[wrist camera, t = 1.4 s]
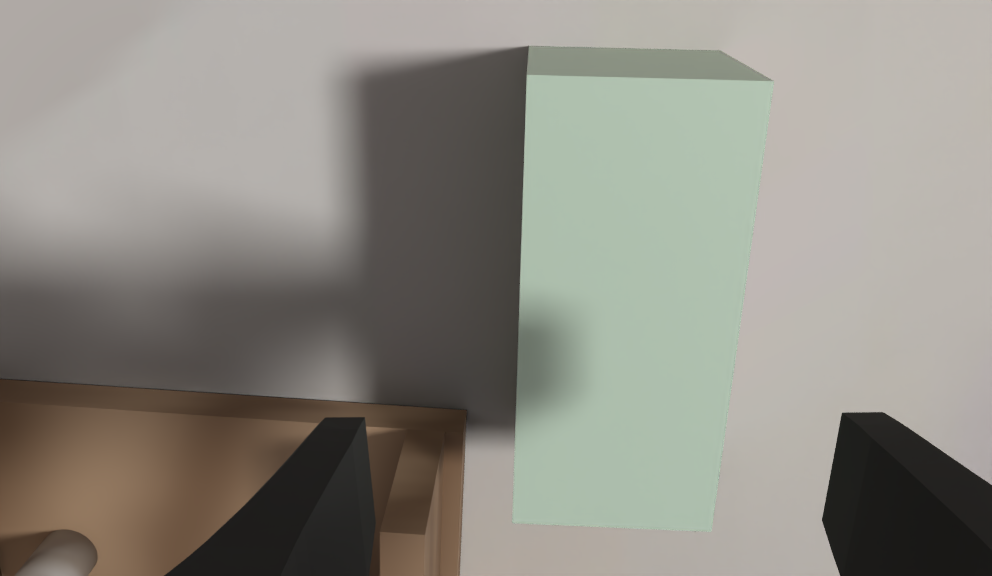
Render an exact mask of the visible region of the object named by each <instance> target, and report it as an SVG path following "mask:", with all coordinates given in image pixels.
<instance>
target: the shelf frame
mask: <svg viewBox="0 0 992 576" xmlns="http://www.w3.org/2000/svg"><path fill="white" fill-rule="evenodd" d="M466 414H467V410H456V409H441V408H426V407H411V406H396V405H381V404H366V403H351V402H336V401H321V400H306V399H291V398H276V397H261V396H246V395H231V394H216V393H201V392H186V391H171V390H156V389H141V388H126V387H111V386H96V385H81V384H66V383H51V382H36V381H21V380H6V379H0V576H164V575H165V574H167V573H168V572H169V571H171V570H172V569H173V568H174V567H176V566H177V565H178V564H180V563H181V562H182V561H183V560H185V559H186V558H187V557H188V556H189V555H191V554H192V553H193V552H194V551H195V550H197V549H198V548H199V547H200V546H201V545H202V544H203V543H205V542H206V541H207V540H208V539H209V538H210V537H211V536H212V535H213V534H214V533H215V532H216V531H218V530H219V529H220V528H221V527H222V526H223V525H224V524H225V523H226V522H227V521H228V520H229V519H230V518H231V517H232V516H233V515H234V514H235V513H237V512H238V511H239V510H240V509H241V508H242V507H243V506H244V505H245V504H246V503H247V502H248V501H249V500H250V499H251V498H252V497H253V496H254V495H255V493H256V492H257V491H258V490H259V489H260V488H261V487H262V486H263V485H264V484H265V483H266V482H267V481H268V480H269V479H270V478H271V477H272V476H273V474H274V473H275V472H276V471H277V470H278V469H279V468H280V467H281V466H282V465H283V464H284V462H285V461H286V460H287V459H288V458H289V457H290V456H291V455H292V454H293V452H294V451H295V450H296V449H297V448H298V447H299V446H300V444H301V443H302V442H303V441H304V440H305V439H306V438H307V436H308V435H309V434H310V433H311V432H312V431H313V430H314V429H315V427H316V426H317V425H318V424H319V423H320V422H321V421H322V420H323V419H324V418H325V417H365V422H366V432H367V441H368V451H369V461H370V471H371V481H372V490H373V500H374V510H375V520H376V526H375V534H374V542H373V550H372V557H371V565H370V572H369V576H460V554H461V531H462V507H463V484H464V461H465V438H466Z"/></svg>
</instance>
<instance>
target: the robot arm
mask: <svg viewBox="0 0 992 576" xmlns="http://www.w3.org/2000/svg"><path fill="white" fill-rule="evenodd" d="M822 521H823V524H824V528H825V531H826V534H827V537H828V540H829V544H830V547H831V550H832V553H833V556H834V559H835V562H836V565H837V567H838V570H839V573H840V576H992V485H991V484H989V483H988V482H986V481H985V480H983V479H982V478H980V477H979V476H977V475H976V474H974V473H973V472H971V471H970V470H969V469H967V468H966V467H964V466H963V465H961V464H960V463H958V462H957V461H955V460H954V459H953V458H951V457H950V456H948V455H947V454H945V453H944V452H942V451H941V450H940V449H938V448H937V447H935V446H934V445H932V444H931V443H929V442H928V441H927V440H925V439H924V438H922V437H921V436H919V435H918V434H916V433H915V432H913V431H912V430H910V429H909V428H907V427H906V426H904V425H903V424H901V423H900V422H898V421H897V420H895V419H893V418H892V417H890V416H888V415H887V414H885V413H883V412H869V413H842V416H841V421H840V427H839V432H838V437H837V443H836V448H835V453H834V459H833V464H832V470H831V475H830V480H829V486H828V491H827V496H826V502H825V507H824V512H823V518H822ZM375 526H376V520H375V510H374V500H373V490H372V481H371V471H370V461H369V451H368V441H367V432H366V422H365V417H325V418H324V419H323V420H322V421H321V422H320V423H319V424H318V425H317V426H316V427H315V429H314V430H313V431H312V432H311V433H310V434H309V435H308V436H307V438H306V439H305V440H304V441H303V442H302V443H301V444H300V446H299V447H298V448H297V449H296V450H295V451H294V452H293V454H292V455H291V456H290V457H289V458H288V459H287V460H286V461H285V462H284V464H283V465H282V466H281V467H280V468H279V469H278V470H277V471H276V472H275V473H274V474H273V476H272V477H271V478H270V479H269V480H268V481H267V482H266V483H265V484H264V485H263V486H262V487H261V488H260V489H259V490H258V491H257V492H256V493H255V495H254V496H253V497H252V498H251V499H250V500H249V501H248V502H247V503H246V504H245V505H244V506H243V507H242V508H241V509H240V510H239V511H238V512H237V513H235V514H234V515H233V516H232V517H231V518H230V519H229V520H228V521H227V522H226V523H225V524H224V525H223V526H222V527H221V528H220V529H219V530H218V531H216V532H215V533H214V534H213V535H212V536H211V537H210V538H209V539H208V540H207V541H206V542H205V543H203V544H202V545H201V546H200V547H199V548H198V549H197V550H195V551H194V552H193V553H192V554H191V555H189V556H188V557H187V558H186V559H185V560H183V561H182V562H181V563H180V564H178V565H177V566H176V567H174V568H173V569H172V570H171V571H169V572H168V573H167V574H165V575H164V576H369V572H370V565H371V557H372V550H373V542H374V534H375Z"/></svg>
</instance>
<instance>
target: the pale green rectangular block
mask: <svg viewBox="0 0 992 576" xmlns="http://www.w3.org/2000/svg"><path fill="white" fill-rule="evenodd" d="M773 85H774V81H773V80H771V79H769V78H767V77H766V76H764V75H762V74H760V73H759V72H757V71H755V70H753V69H752V68H750V67H748V66H746V65H745V64H743V63H741V62H739V61H738V60H736V59H734V58H732V57H731V56H729V55H727V54H725V53H724V52H722V51H711V50H671V49H631V48H591V47H550V46H529V50H528V64H527V82H526V113H525V145H524V176H523V207H522V238H521V269H520V300H519V331H518V362H517V393H516V424H515V455H514V486H513V517H512V523H520V524H543V525H566V526H589V527H612V528H635V529H658V530H681V531H704V532H711V531H712V524H713V516H714V509H715V502H716V495H717V488H718V480H719V473H720V466H721V459H722V452H723V445H724V437H725V430H726V423H727V416H728V409H729V401H730V394H731V387H732V380H733V373H734V366H735V358H736V351H737V344H738V337H739V330H740V322H741V315H742V308H743V301H744V294H745V287H746V279H747V272H748V265H749V258H750V251H751V243H752V236H753V229H754V222H755V215H756V207H757V200H758V193H759V186H760V179H761V172H762V164H763V157H764V150H765V143H766V136H767V128H768V121H769V114H770V107H771V100H772V93H773Z"/></svg>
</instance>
